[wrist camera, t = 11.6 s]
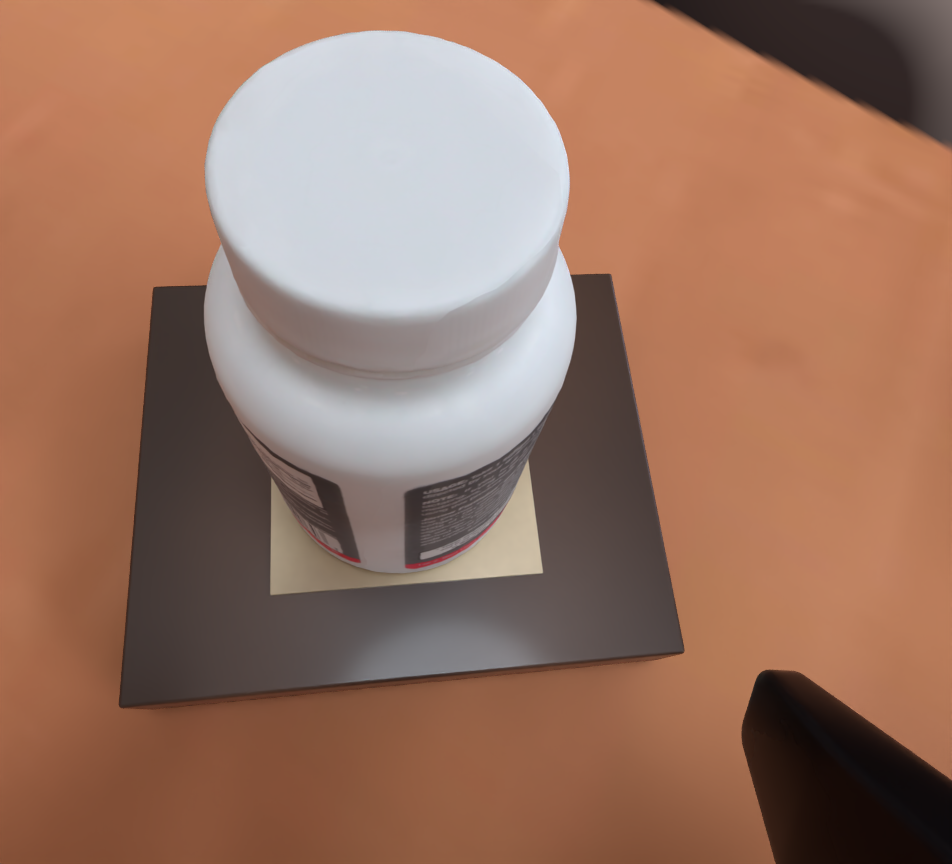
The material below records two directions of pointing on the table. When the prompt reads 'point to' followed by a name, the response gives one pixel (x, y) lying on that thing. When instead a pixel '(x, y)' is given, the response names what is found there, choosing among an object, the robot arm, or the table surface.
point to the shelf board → (377, 593)
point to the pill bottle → (389, 288)
